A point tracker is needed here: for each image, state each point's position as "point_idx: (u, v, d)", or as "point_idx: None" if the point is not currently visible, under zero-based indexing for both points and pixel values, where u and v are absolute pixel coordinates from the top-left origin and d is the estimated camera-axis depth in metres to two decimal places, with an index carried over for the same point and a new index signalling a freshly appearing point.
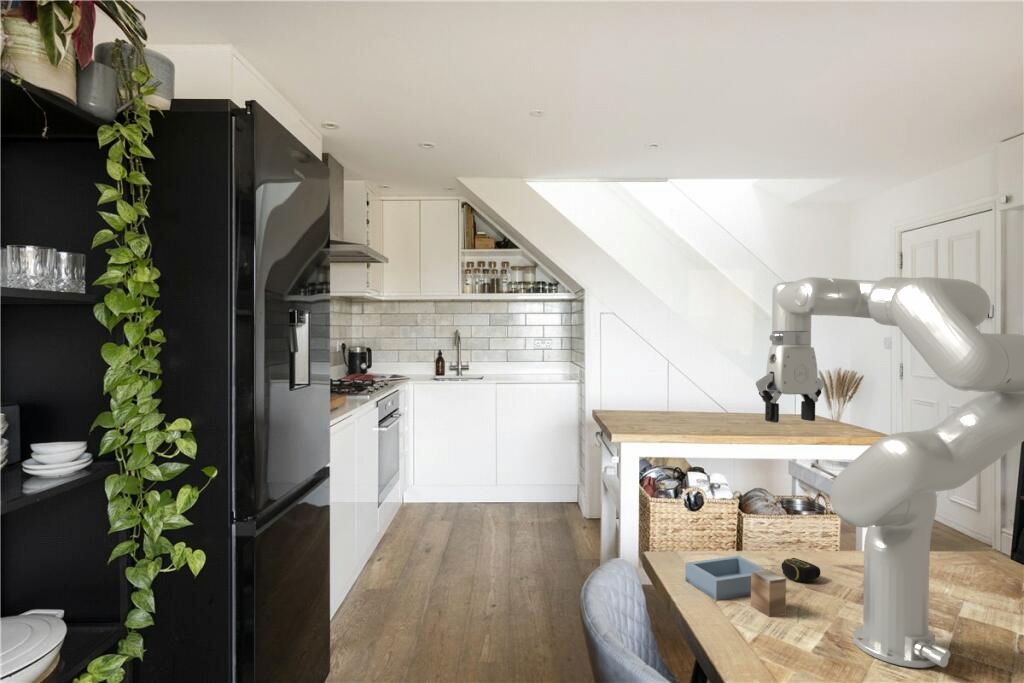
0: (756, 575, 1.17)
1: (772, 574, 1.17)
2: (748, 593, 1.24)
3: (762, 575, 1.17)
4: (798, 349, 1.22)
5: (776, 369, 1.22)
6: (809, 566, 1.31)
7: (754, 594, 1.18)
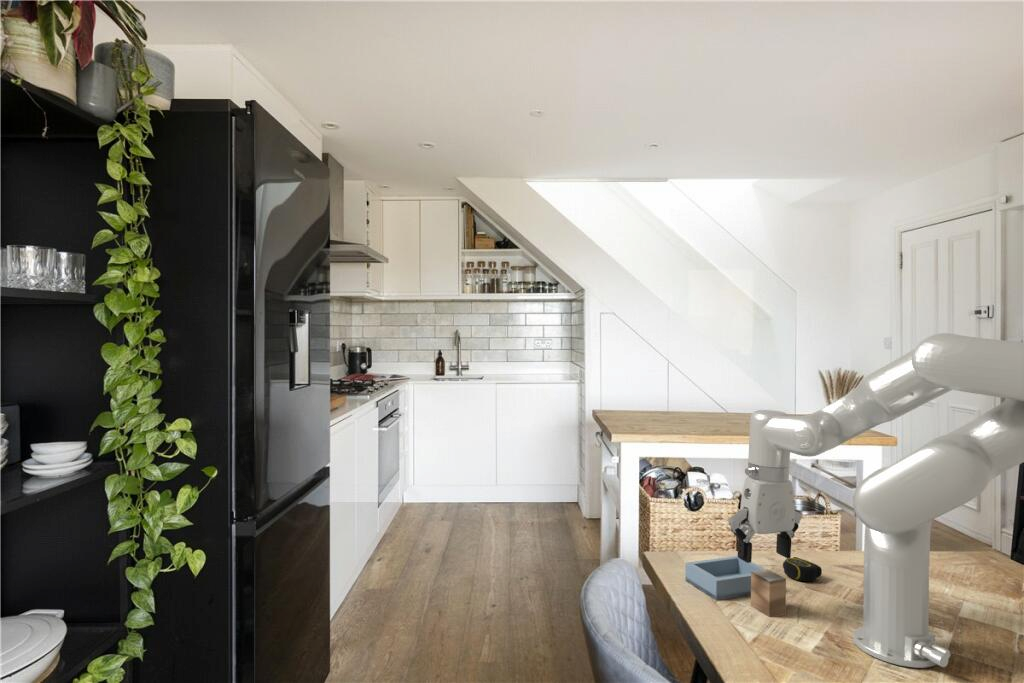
0: (756, 575, 1.17)
1: (772, 574, 1.17)
2: (748, 593, 1.24)
3: (762, 575, 1.17)
4: (775, 486, 1.15)
5: (750, 506, 1.15)
6: (810, 565, 1.32)
7: (754, 594, 1.18)
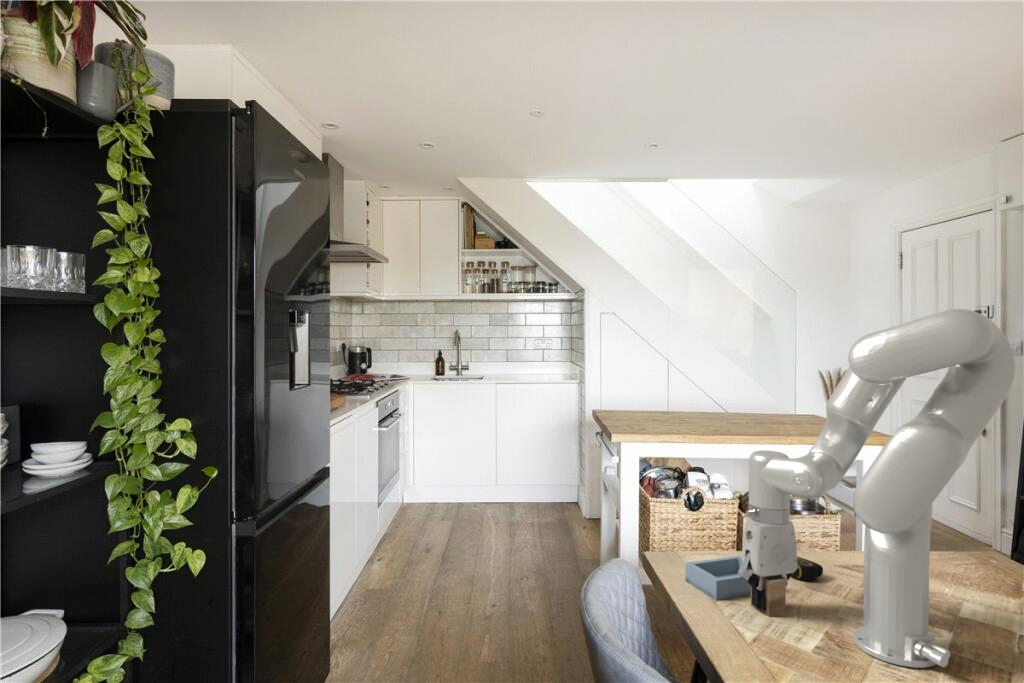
0: (756, 575, 1.17)
1: None
2: (748, 593, 1.24)
3: None
4: (776, 527, 1.14)
5: (752, 549, 1.14)
6: (812, 564, 1.32)
7: None
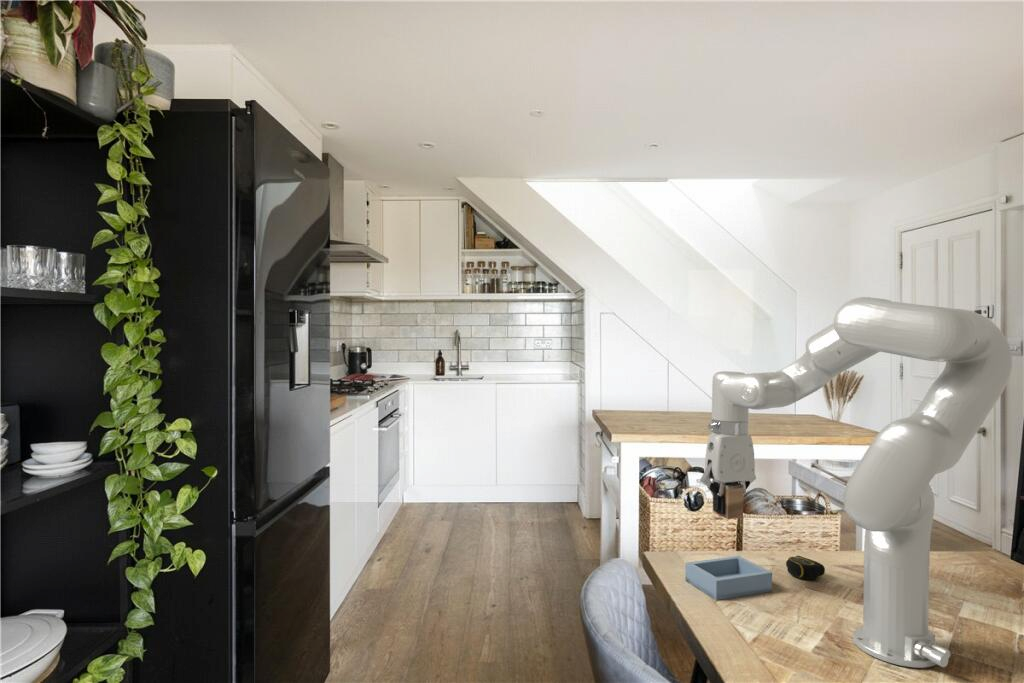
0: None
1: (732, 482, 1.29)
2: (748, 593, 1.24)
3: None
4: (735, 438, 1.26)
5: (713, 458, 1.26)
6: (813, 564, 1.33)
7: None
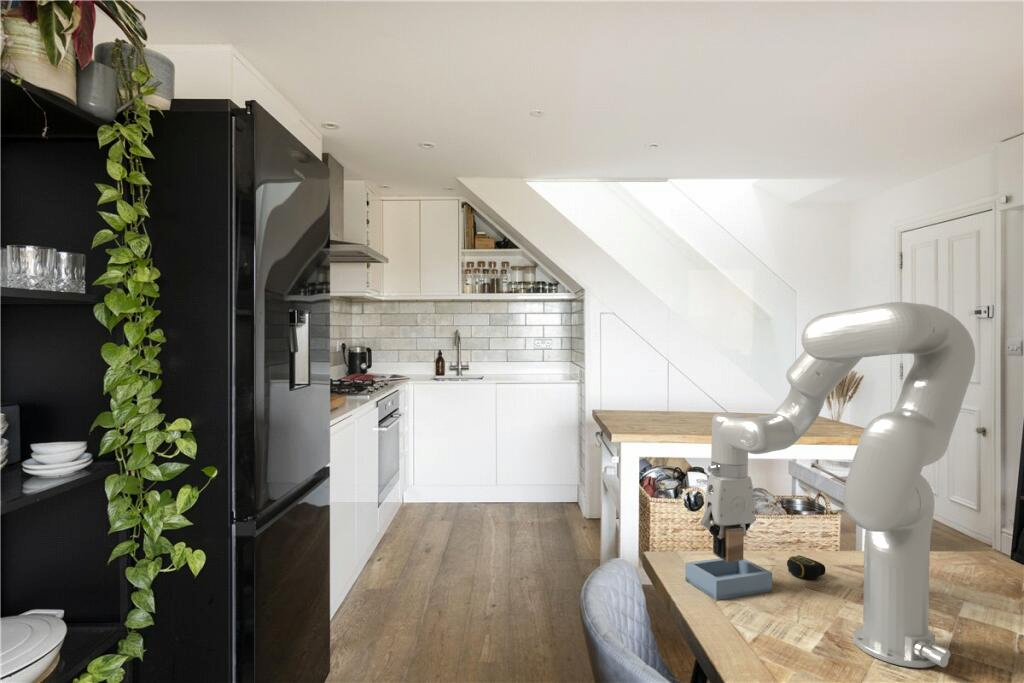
0: None
1: None
2: (748, 593, 1.24)
3: None
4: (735, 481, 1.26)
5: (713, 501, 1.26)
6: (814, 563, 1.33)
7: None
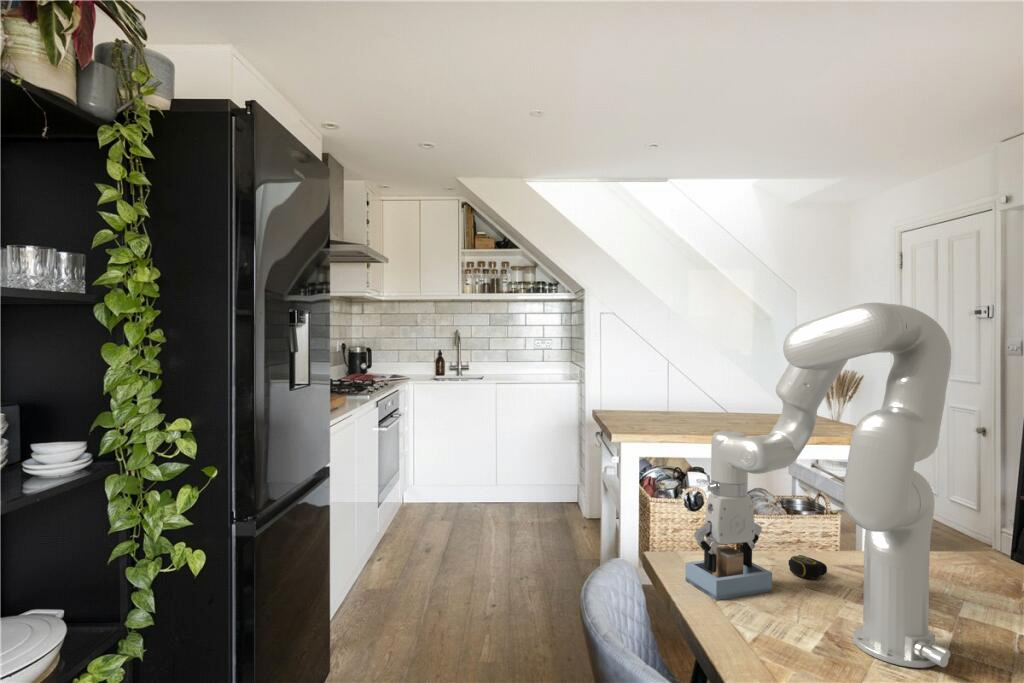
0: (717, 550, 1.29)
1: (732, 549, 1.29)
2: (748, 593, 1.24)
3: (722, 550, 1.28)
4: (734, 500, 1.26)
5: (713, 520, 1.26)
6: (816, 563, 1.33)
7: None
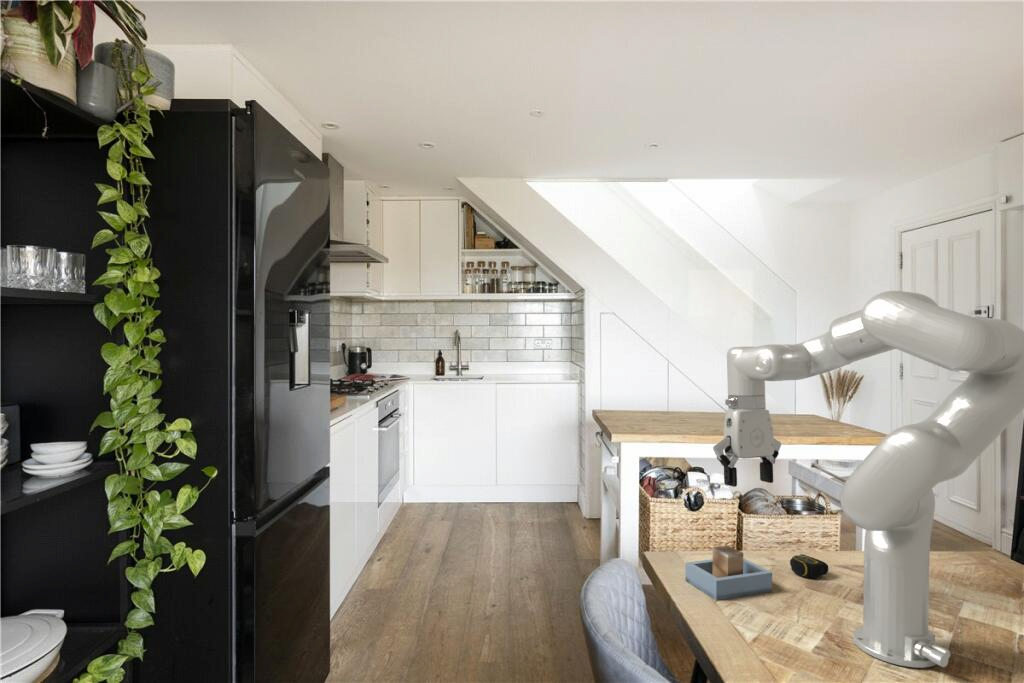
0: (717, 550, 1.29)
1: (732, 549, 1.29)
2: (748, 593, 1.24)
3: (722, 550, 1.28)
4: (753, 413, 1.24)
5: (732, 433, 1.24)
6: (817, 562, 1.33)
7: (715, 568, 1.29)
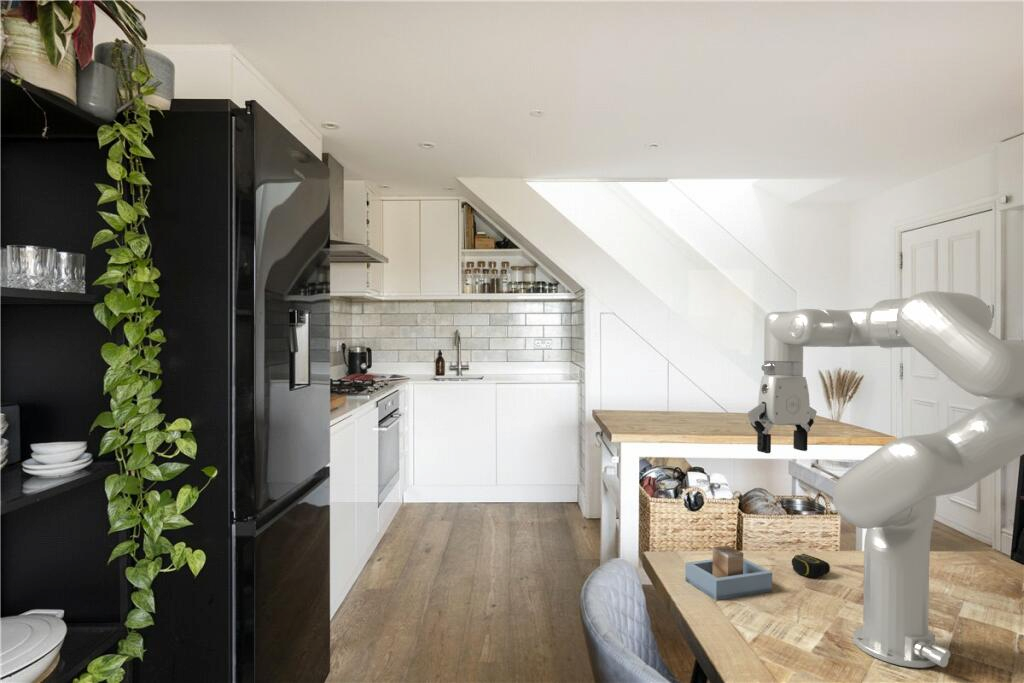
0: (717, 550, 1.29)
1: (732, 549, 1.29)
2: (748, 593, 1.24)
3: (722, 550, 1.28)
4: (790, 379, 1.22)
5: (768, 400, 1.22)
6: (819, 562, 1.34)
7: (715, 568, 1.29)
